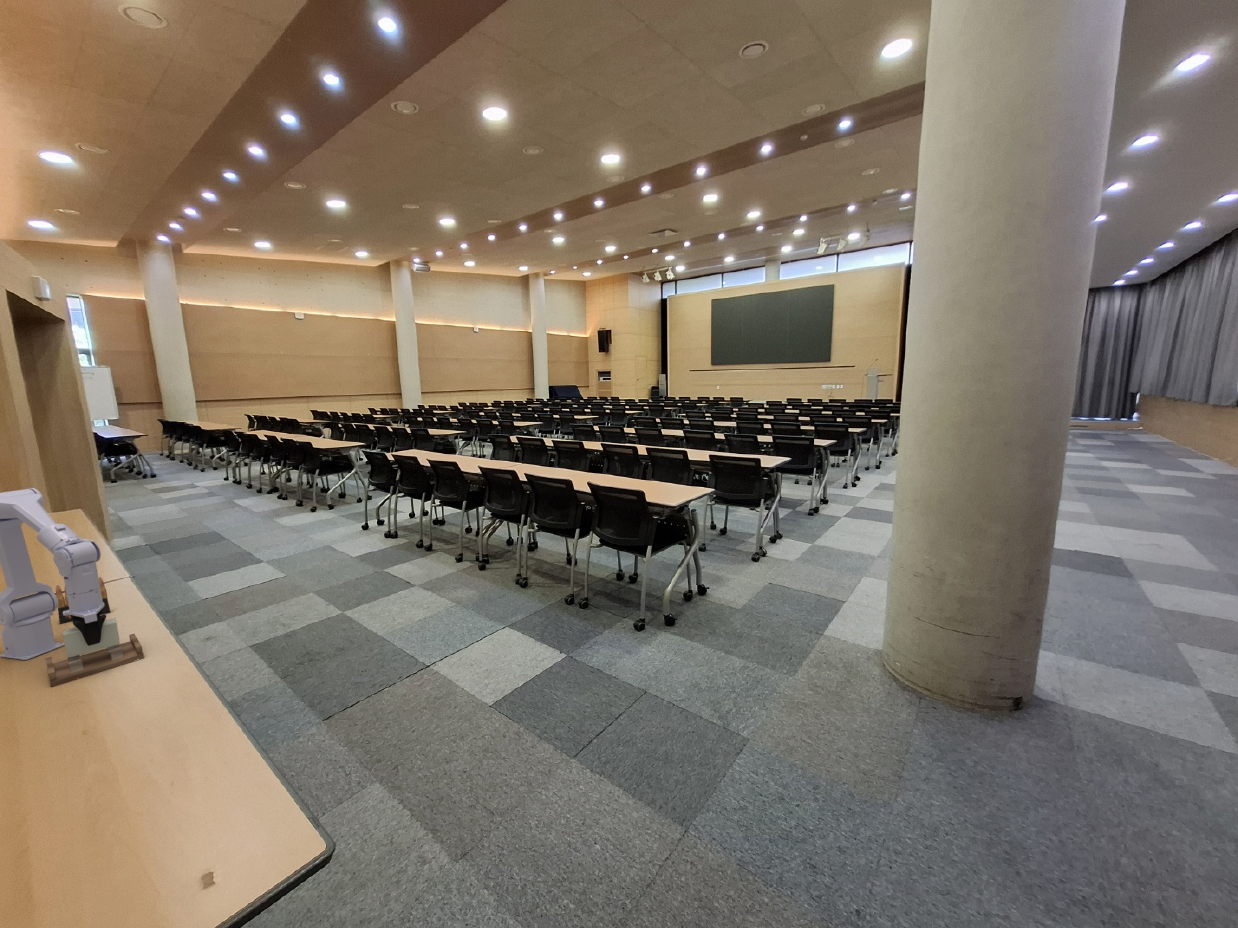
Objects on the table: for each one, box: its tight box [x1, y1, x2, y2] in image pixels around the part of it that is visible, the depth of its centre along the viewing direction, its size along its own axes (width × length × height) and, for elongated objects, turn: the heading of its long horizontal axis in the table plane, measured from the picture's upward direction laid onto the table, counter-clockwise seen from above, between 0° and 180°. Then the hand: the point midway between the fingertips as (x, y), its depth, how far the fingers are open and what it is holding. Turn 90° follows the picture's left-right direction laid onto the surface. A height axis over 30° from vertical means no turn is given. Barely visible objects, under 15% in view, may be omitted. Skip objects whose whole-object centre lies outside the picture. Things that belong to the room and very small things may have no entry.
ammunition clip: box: [55, 576, 112, 625], centre depth 151 cm, size 11×2×12 cm, turn 136°
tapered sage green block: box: [62, 617, 121, 659], centre depth 124 cm, size 4×9×6 cm, turn 136°
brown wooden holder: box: [45, 633, 145, 688], centre depth 125 cm, size 12×16×4 cm
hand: (92, 640), depth 125 cm, fingers closed on tapered sage green block, 4 cm apart
